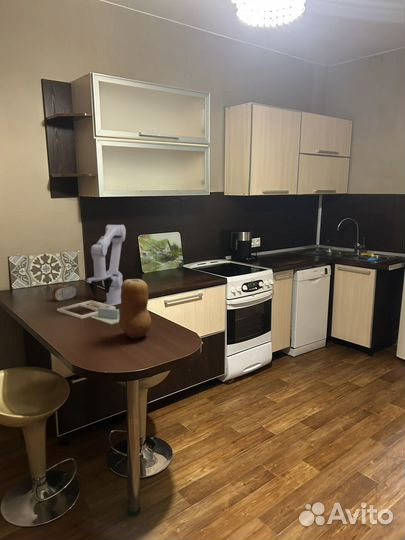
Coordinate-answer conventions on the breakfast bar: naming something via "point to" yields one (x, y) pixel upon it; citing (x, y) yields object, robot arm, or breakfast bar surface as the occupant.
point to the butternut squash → (134, 308)
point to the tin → (64, 292)
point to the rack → (85, 307)
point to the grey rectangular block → (108, 313)
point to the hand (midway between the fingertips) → (101, 294)
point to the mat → (106, 319)
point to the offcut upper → (96, 305)
